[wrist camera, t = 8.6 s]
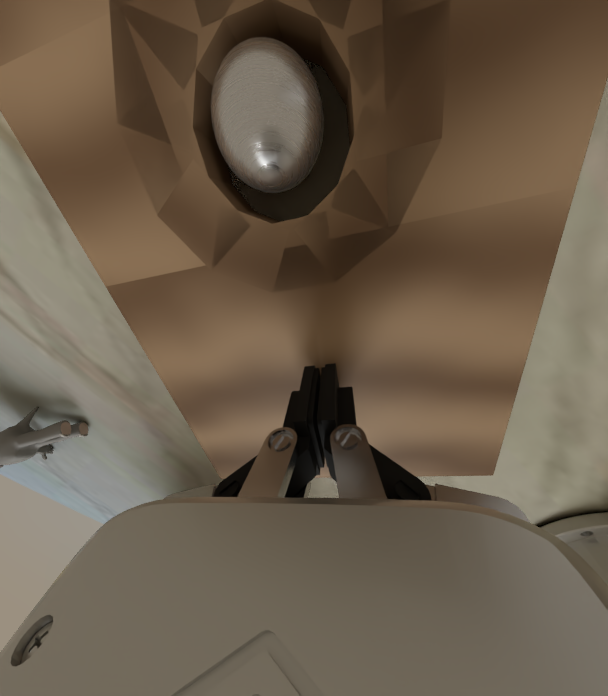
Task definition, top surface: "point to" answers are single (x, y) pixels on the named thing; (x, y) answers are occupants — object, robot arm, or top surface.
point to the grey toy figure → (35, 439)
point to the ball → (267, 114)
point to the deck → (321, 203)
